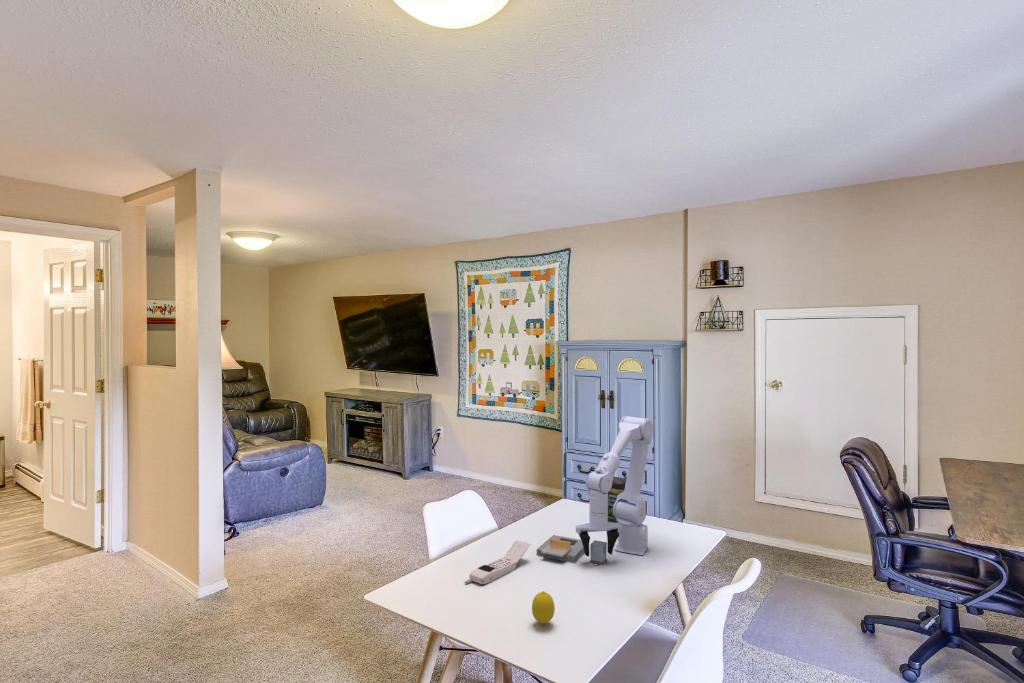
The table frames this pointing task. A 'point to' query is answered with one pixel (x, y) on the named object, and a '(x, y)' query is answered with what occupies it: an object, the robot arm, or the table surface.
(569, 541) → the socket front rim
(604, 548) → the plug
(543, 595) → the lemon
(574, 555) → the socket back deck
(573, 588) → the table surface
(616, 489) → the coffee jar
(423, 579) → the table surface
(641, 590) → the table surface
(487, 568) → the mobile phone
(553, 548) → the panel
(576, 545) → the socket near rim
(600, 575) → the table surface
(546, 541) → the socket far rim
